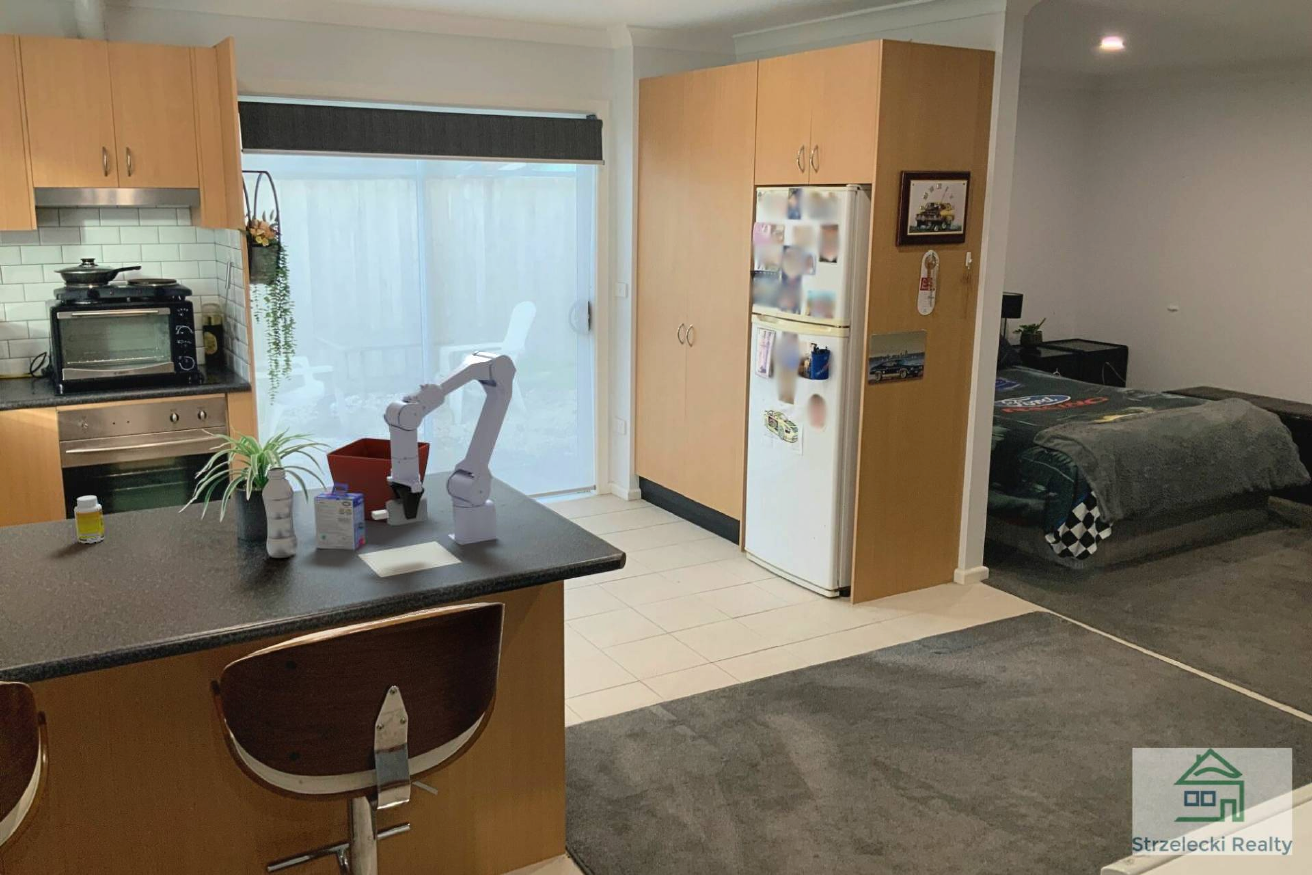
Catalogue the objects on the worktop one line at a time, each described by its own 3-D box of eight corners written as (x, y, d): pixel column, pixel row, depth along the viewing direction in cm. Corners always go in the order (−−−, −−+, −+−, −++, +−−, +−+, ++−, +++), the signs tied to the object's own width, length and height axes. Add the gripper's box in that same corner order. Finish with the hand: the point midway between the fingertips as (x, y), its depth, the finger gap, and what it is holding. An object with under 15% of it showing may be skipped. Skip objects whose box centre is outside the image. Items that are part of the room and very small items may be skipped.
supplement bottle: (108, 541, 242) (103, 498, 240) (81, 546, 239) (75, 502, 237) (102, 534, 247) (97, 492, 244) (75, 539, 243) (70, 497, 241)
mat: (435, 543, 243) (435, 541, 243) (462, 564, 230) (461, 562, 230) (358, 557, 234) (357, 554, 233) (380, 580, 220) (380, 577, 220)
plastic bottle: (305, 553, 235) (299, 467, 231) (282, 563, 229) (276, 474, 225) (283, 549, 238) (276, 463, 233) (260, 558, 232) (253, 471, 227)
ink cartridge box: (367, 544, 242) (364, 483, 239) (356, 552, 237) (352, 490, 234) (327, 541, 244) (324, 480, 241) (315, 548, 239) (311, 487, 235)
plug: (424, 514, 237) (423, 495, 236) (430, 519, 233) (429, 499, 232) (371, 523, 230) (370, 503, 229) (376, 528, 227) (375, 508, 226)
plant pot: (434, 505, 272) (431, 441, 268) (400, 527, 254) (397, 460, 250) (366, 499, 276) (363, 437, 272) (328, 521, 258) (324, 454, 254)
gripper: (376, 451, 233) (379, 510, 236) (397, 465, 221) (400, 527, 224) (407, 447, 237) (409, 505, 240) (430, 461, 225) (432, 522, 228)
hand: (407, 515), depth 233 cm, fingers closed on plug, 4 cm apart
